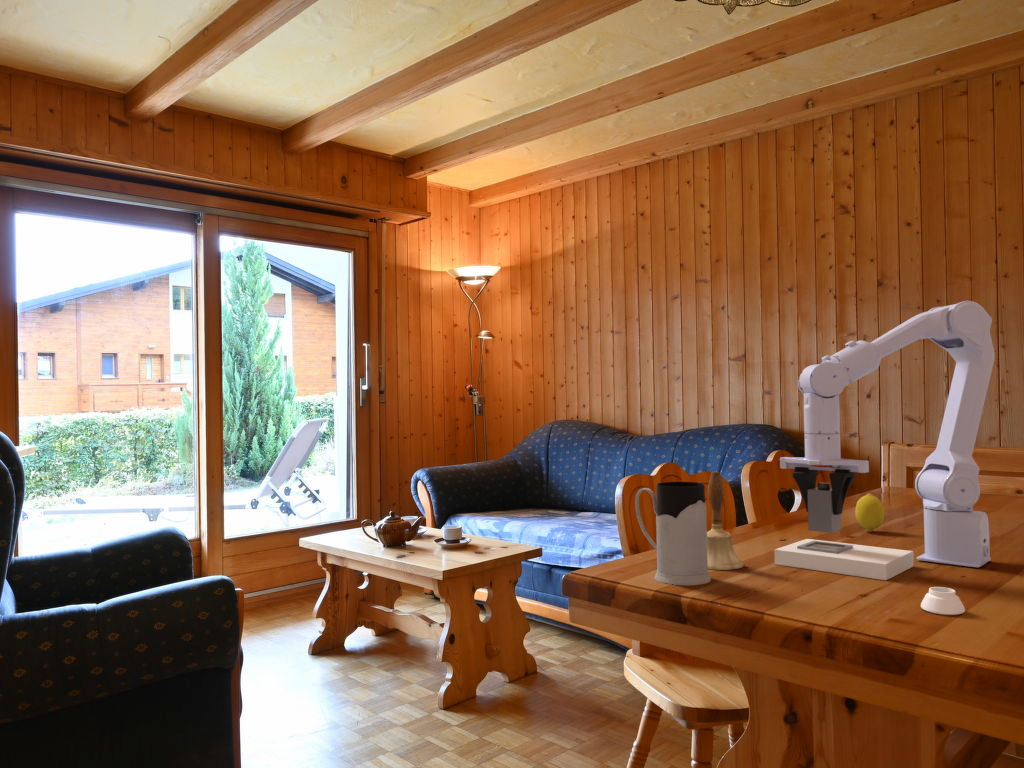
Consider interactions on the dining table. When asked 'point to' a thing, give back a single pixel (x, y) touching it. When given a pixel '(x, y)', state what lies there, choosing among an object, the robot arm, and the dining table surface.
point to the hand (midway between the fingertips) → (824, 512)
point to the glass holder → (679, 532)
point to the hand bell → (719, 532)
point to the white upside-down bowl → (942, 602)
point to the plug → (822, 510)
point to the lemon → (869, 512)
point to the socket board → (845, 558)
